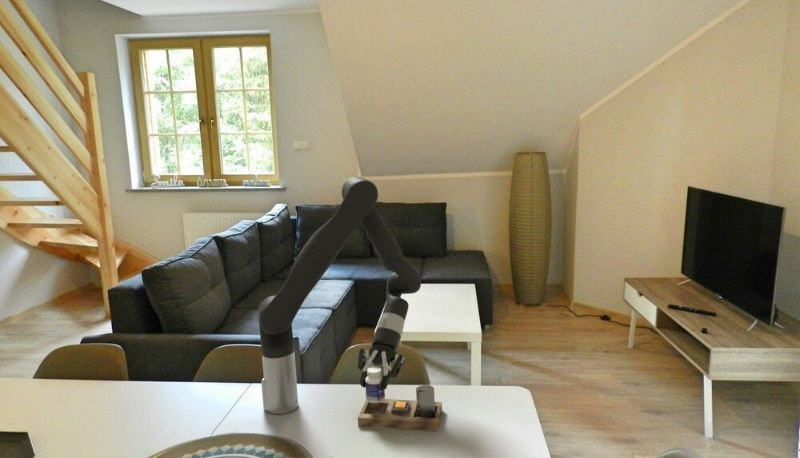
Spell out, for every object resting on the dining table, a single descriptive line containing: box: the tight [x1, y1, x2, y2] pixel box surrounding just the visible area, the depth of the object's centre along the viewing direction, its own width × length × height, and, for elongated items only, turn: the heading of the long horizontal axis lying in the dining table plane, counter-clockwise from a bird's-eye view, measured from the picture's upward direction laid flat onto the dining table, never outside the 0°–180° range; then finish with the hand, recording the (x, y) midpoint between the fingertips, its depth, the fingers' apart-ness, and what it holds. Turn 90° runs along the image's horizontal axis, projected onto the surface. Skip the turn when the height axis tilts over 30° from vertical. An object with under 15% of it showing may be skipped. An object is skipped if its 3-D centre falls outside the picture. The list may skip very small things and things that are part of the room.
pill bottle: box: [365, 366, 386, 403], centre depth 150 cm, size 5×5×9 cm
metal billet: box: [415, 384, 436, 418], centre depth 148 cm, size 5×5×9 cm
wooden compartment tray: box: [357, 398, 443, 432], centre depth 150 cm, size 22×11×4 cm, turn 80°
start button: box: [395, 402, 406, 409], centre depth 150 cm, size 3×3×1 cm
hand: (372, 388), depth 148 cm, fingers closed on pill bottle, 5 cm apart
